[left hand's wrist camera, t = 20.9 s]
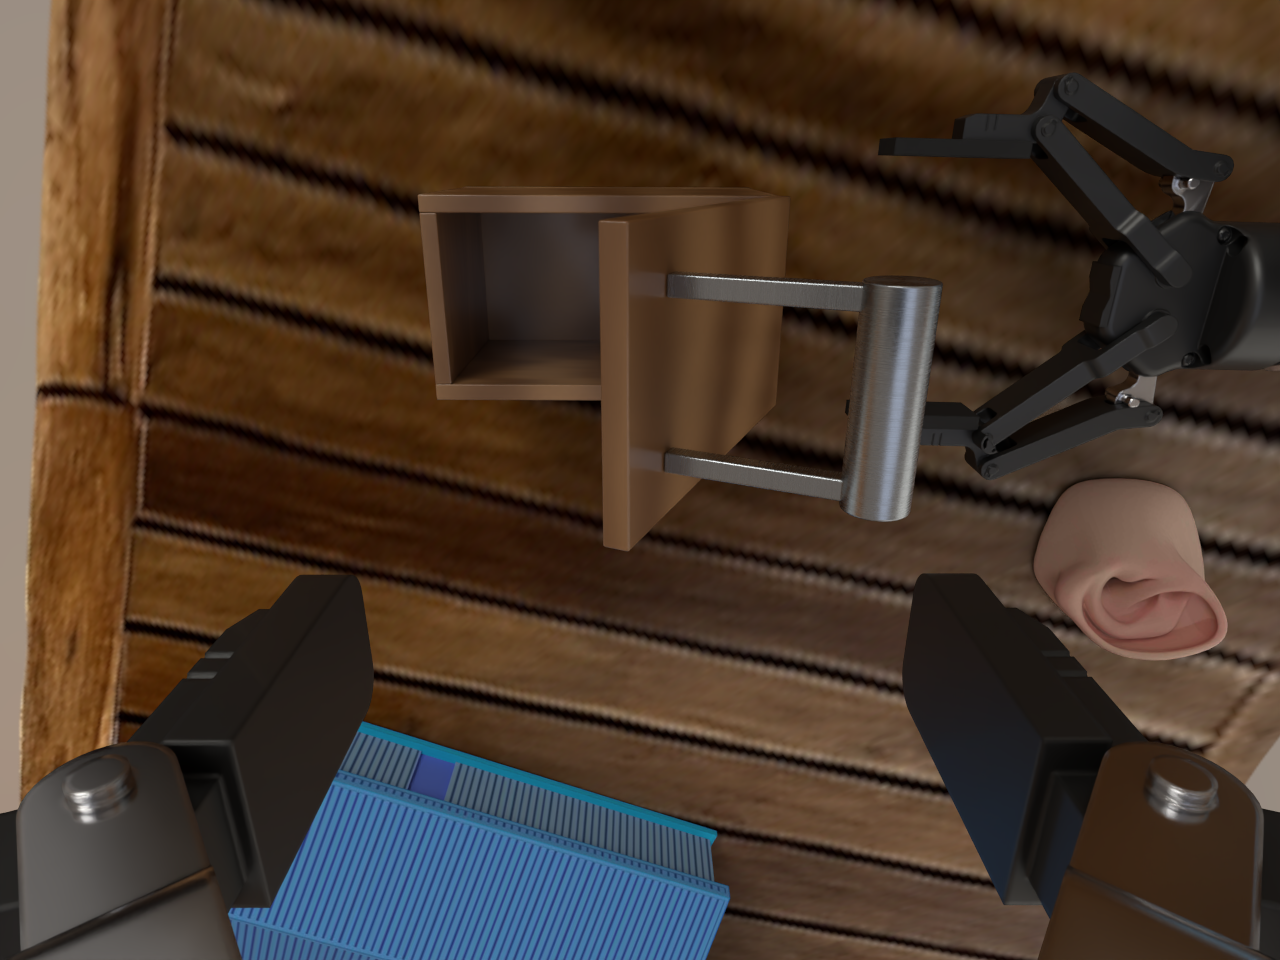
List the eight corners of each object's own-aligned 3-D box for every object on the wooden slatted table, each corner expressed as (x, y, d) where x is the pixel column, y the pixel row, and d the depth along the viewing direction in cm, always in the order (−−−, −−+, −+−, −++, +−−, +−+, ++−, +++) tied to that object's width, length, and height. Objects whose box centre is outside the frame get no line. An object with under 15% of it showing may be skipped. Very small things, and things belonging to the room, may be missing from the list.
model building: (181, 901, 67) (107, 1020, 58) (237, 677, 58) (161, 774, 49) (612, 1017, 72) (608, 1142, 63) (721, 827, 64) (735, 940, 55)
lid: (602, 547, 24) (889, 607, 21) (597, 219, 21) (941, 231, 18) (758, 402, 39) (942, 425, 36) (771, 195, 35) (977, 199, 32)
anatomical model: (1055, 517, 49) (1247, 475, 48) (1027, 492, 53) (1204, 453, 52) (1066, 689, 54) (1241, 654, 53) (1039, 655, 58) (1201, 621, 57)
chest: (479, 349, 50) (436, 400, 39) (467, 186, 46) (416, 194, 36) (739, 350, 50) (765, 401, 39) (748, 187, 46) (779, 195, 36)
